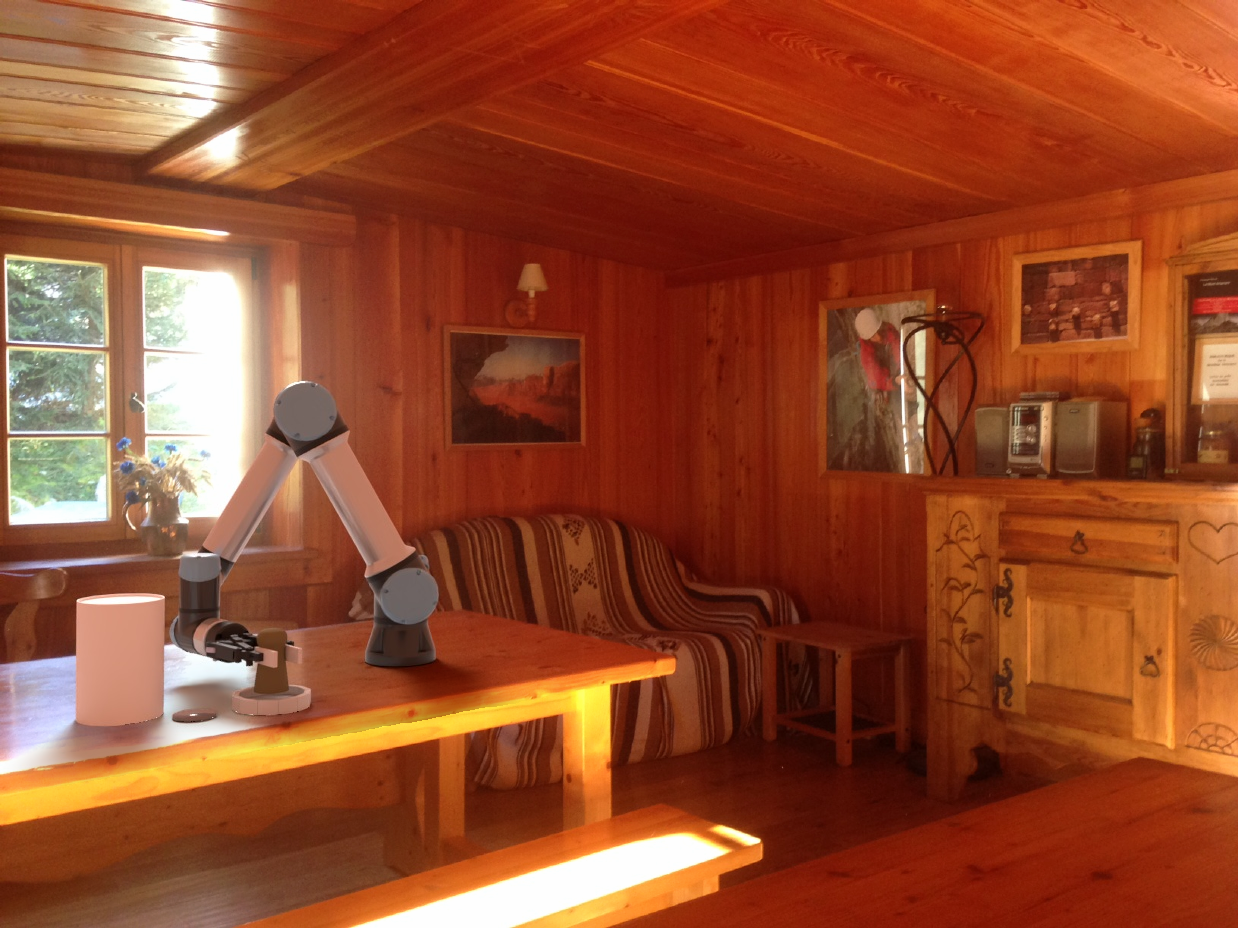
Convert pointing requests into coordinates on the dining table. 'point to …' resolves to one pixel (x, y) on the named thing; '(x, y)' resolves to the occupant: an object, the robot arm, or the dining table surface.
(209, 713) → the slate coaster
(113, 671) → the canister
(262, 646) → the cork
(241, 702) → the pink flat ring
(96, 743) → the dining table surface
